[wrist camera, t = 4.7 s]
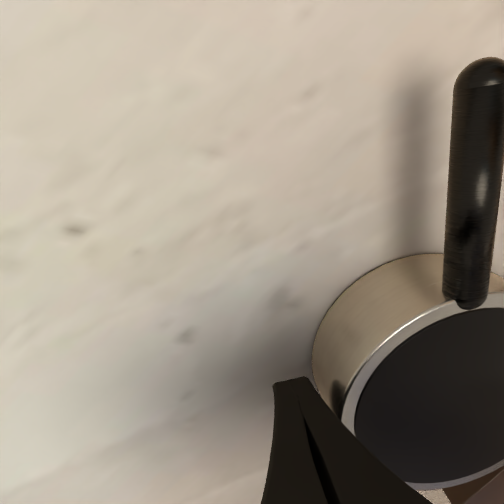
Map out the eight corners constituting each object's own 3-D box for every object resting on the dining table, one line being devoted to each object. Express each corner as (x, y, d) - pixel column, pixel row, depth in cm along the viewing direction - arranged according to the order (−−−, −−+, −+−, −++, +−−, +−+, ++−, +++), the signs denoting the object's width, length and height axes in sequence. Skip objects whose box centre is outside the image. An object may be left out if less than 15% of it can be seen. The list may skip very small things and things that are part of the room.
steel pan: (492, 400, 15) (563, 469, 12) (319, 439, 15) (348, 521, 12) (543, 51, 10) (687, 21, 7) (279, 97, 10) (311, 86, 7)
